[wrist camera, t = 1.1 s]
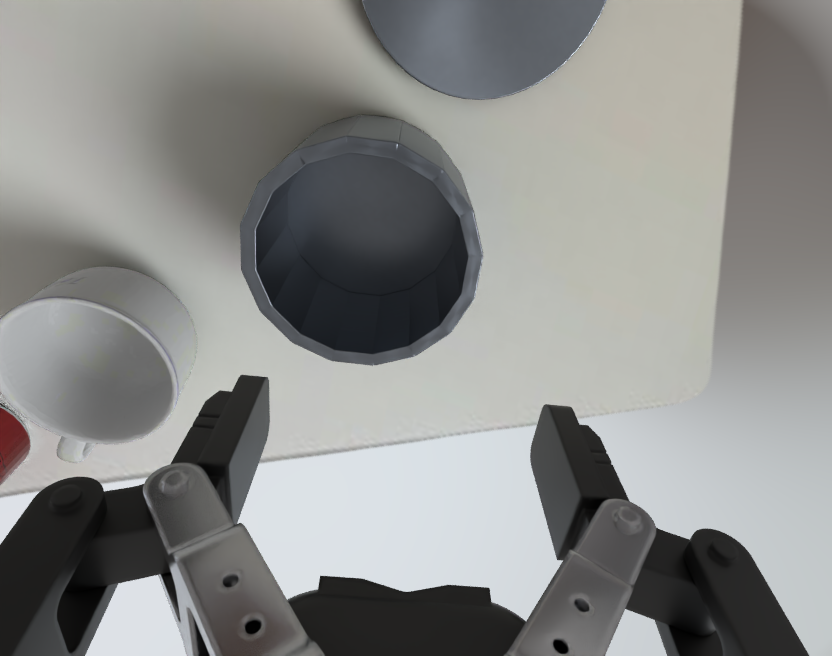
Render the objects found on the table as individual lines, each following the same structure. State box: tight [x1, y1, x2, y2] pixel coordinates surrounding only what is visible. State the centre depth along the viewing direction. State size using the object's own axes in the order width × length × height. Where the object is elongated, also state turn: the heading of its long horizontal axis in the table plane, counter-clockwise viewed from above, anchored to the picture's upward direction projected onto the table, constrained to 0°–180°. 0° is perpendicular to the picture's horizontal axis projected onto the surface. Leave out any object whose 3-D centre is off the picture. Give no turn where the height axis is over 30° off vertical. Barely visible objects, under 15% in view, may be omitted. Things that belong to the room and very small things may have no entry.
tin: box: [240, 115, 483, 365], centre depth 32 cm, size 13×13×8 cm
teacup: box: [0, 267, 197, 463], centre depth 36 cm, size 14×11×8 cm
